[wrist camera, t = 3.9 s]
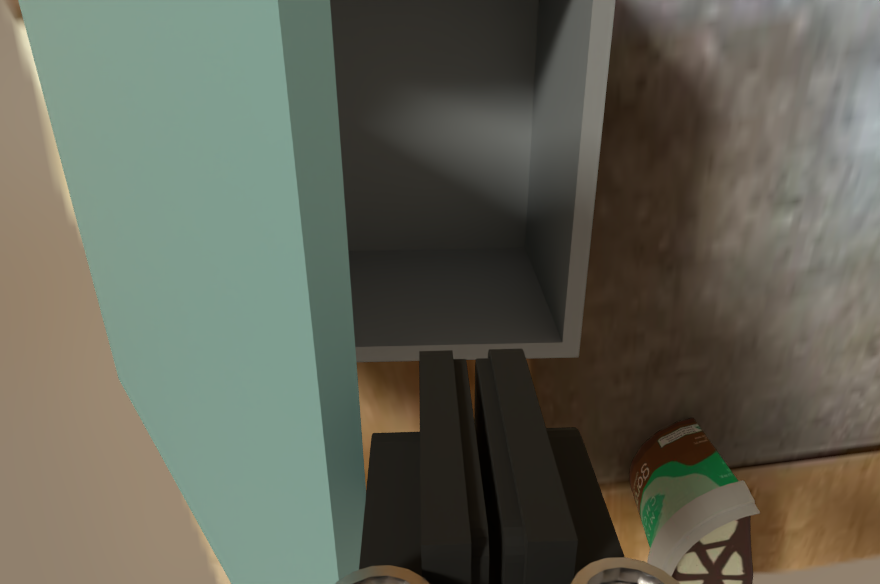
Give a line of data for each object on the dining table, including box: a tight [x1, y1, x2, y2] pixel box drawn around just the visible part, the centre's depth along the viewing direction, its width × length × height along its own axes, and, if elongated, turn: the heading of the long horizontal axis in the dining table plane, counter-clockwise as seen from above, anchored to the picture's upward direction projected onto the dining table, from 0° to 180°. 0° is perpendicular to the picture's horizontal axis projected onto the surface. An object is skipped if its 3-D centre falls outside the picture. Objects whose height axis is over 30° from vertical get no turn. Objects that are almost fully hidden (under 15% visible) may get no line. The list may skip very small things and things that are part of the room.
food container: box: [629, 418, 760, 584], centre depth 44 cm, size 12×6×10 cm, turn 12°
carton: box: [330, 0, 615, 362], centre depth 31 cm, size 20×18×12 cm
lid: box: [19, 0, 366, 584], centre depth 17 cm, size 21×19×1 cm
